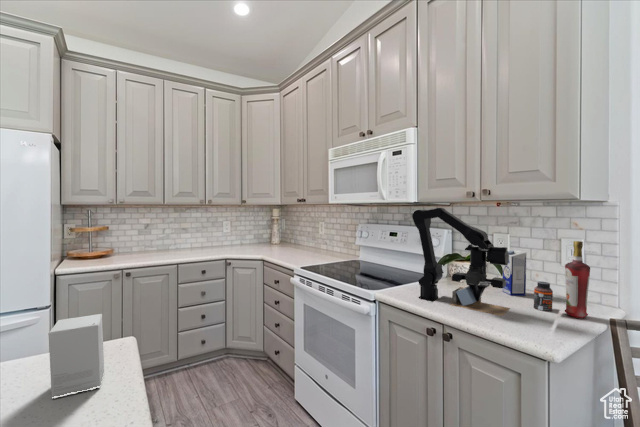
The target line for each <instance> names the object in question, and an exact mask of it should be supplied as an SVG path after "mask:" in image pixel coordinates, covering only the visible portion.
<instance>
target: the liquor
mask: <svg viewBox="0 0 640 427" xmlns="http://www.w3.org/2000/svg"><path fill="white" fill-rule="evenodd" d="M572 242H573V243H572V244H573V254H572V255H573V256H572V260H571V262H567V263H566V264H564V275H565V276H564V278H565V280H564V282H565V309H564V313H566V315H568V317H571V318H575V319H584V318H586V317H588V316H589V313H587V312H588V311H587V309H588V297H589V296H588V295H589V294H588V293H589V286H590V276H591V275H590V274H591V266H589V265H588V264H586V263H584V262H583V260H584V259H583V245H584V242H583V241H579V240H574V241H572Z"/></svg>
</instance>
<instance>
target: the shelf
mask: <svg viewBox="0 0 640 427" xmlns="http://www.w3.org/2000/svg"><path fill="white" fill-rule="evenodd" d="M464 287H465V286H464ZM464 287H463V286H459V287H458V288H456V289H454V290H452V299H451V300H452V303H449V306H453V307H458V308H462V309H466V310H472V311H476V312H481V313H485V314H489V315H495V316H500V317H503V316H504V315H505V314H506V313H507V312H508V311H509V310H510V309H511V308H510V307H506V306H501V305H497V304H496V305H495V304H491V303H486V302H482V298H481V299H480V300H479V302H478V301H476V302H474V303H472V304H469V305H465V306H462V303H461V301H460V299H459V297H458V295H457V293H456V291H458V290H460V289H462V288H464Z"/></svg>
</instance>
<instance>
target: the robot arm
mask: <svg viewBox="0 0 640 427" xmlns="http://www.w3.org/2000/svg"><path fill="white" fill-rule="evenodd" d="M411 217H412V221H413V223H414V226H415V228H417V230H418V234H419V238H420V244H421V249H422V253H423V258H424V265H423V276H422V277H421V278H419V279H418V284H419V287H420V296H418V299H422V300H426V301H431V302H433V301H435V300H437V299H438V298H439V289H438V283H439V281H440V280H442V278H443V274H444V273H445V272H444V270H443V265H442V263H440V264H439V263H438V262H437V260H436V255H435V250H434V248H435V247H434V245H433V244H434V243H433V240H432V234H431V230H430V229H431V223H432V219H436V218H439V219H440V220H441V221H443V222H444V223H446V224H448V225H449V226H451V227H452V228H453V229H454V230H456V231H458V232H459V233H461V235H462V236H463V237H464V239H465V240H466V241H467V242H469V243H470V244H468V246H466V248H464V251H469V253H470V254H469V255H470V256H469V257H470V258H469V259H470V262H469V267H468V269H467V272H466V273H465V272H460V271H459V272H458V271H456V272H455V273H453V274H451V275H452V276H451V281H453V282H457V283H458V282H459V283H460V282H461V281H462V280H463V281H465V283H466V285H467V286H470V287H471V288H472V290H473V293H474V296H475V298H476V301H478V302H479V300H480V298H481V299H482V296H483V293H484V291H485V289H487V288H489V287H490V286H491V287H492V288H496V289H503V288H504V287H505V286H506V280H505V279H504V278H503V277H502V278H501V277H495V276H494V277H493V278H487V277H488V276H487V275H488V274H487V268H488V265H487V262H489V264H491V265H498V266H499V265H500V266H503V265H506V266H507V265H508V262H509V255H508V251H509V250H508V247H507V246H506V247H505V246H501V247H500V246H495V245H493V243H492V242H491V241H490V240H489V235H488V233H487V232H486V231H484V230H482V229H480V228H478V227H475V226H473V225H469V224H468V223H466V222H464V221H463V220H461V219H460V218H458V217H457V216H455V215H454V214H452V213H451V212H449V211H448V210H446V208H444V207H436V208H431V209H417V210H415V211H413V213H412V216H411Z"/></svg>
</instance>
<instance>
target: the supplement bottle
mask: <svg viewBox="0 0 640 427" xmlns="http://www.w3.org/2000/svg"><path fill="white" fill-rule="evenodd" d="M553 296H554V294H553V289H552V288H551V283H549V282H546V281H537V286H536V287H534V290H533V309H534V310H537V311H541V312H552V311H553V300H554V298H553Z"/></svg>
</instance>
